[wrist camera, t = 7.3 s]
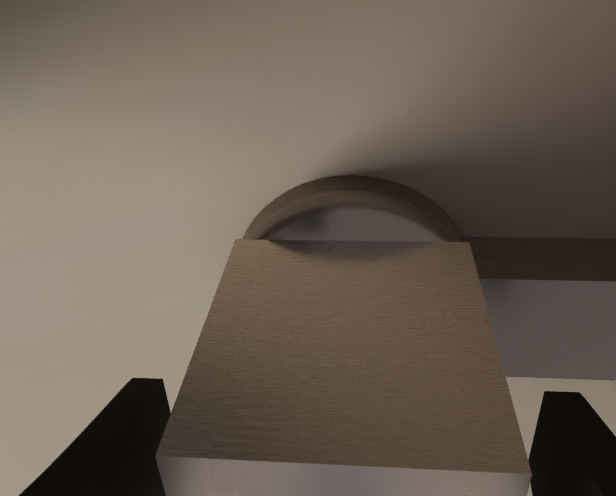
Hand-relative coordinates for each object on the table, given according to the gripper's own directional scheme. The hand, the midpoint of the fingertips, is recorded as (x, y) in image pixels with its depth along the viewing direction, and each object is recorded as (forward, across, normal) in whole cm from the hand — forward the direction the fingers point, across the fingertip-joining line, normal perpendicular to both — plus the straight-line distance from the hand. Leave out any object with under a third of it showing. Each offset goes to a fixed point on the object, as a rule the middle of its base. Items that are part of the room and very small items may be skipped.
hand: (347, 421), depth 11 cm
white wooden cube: (+2, 0, 0) cm, 3 cm away
